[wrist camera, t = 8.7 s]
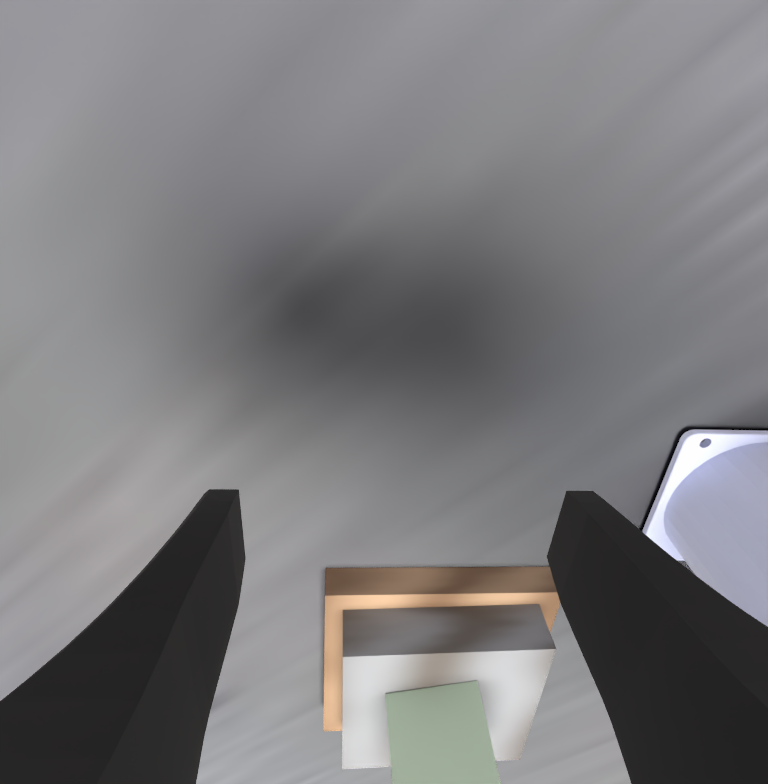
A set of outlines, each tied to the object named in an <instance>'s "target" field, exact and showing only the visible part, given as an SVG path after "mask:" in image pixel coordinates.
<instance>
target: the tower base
mask: <svg viewBox="0 0 768 784" xmlns="http://www.w3.org/2000/svg"><path fill="white" fill-rule="evenodd" d="M520 604H539V605H540V608H541V610H542V613H543V616H544V618H545V621H546V624H547V626H548V629H549V631H551V629H552V626H553V623H554V620H555V617H556V614H557V611H558V608H559V605H560V600H559V597H558V593H557V590H556V587H555V584H554V580H553V577H552V573H551V569H550V567H412V568H326V583H325V643H324V727H323V731H342V671H343V610H356V609H389V608H422V607H455V606H488V605H520Z"/></svg>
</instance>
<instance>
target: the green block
mask: <svg viewBox="0 0 768 784" xmlns="http://www.w3.org/2000/svg"><path fill="white" fill-rule="evenodd" d="M385 695H386V709H387V722H388V735H389V749H390V762H391V776H392V784H501V782H500V777H499V773H498V769H497V764H496V760H495V756H494V751H493V747H492V743H491V738H490V734H489V730H488V725H487V721H486V717H485V712H484V708H483V704H482V699H481V695H480V691H479V686H478V682H477V681H471V682H464V683H457V684H450V685H444V686H437V687H430V688H423V689H416V690H409V691H402V692H395V693H388V694H385Z"/></svg>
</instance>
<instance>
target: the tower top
mask: <svg viewBox="0 0 768 784" xmlns="http://www.w3.org/2000/svg"><path fill="white" fill-rule="evenodd" d="M555 651H556V647H555V644H554V642H553V639H552V637H551V634H550V631H549V629H548V626H547V624H546V621H545V618H544V616H543V613H542V610H541V608H540V605H539V604H520V605H488V606H455V607H422V608H389V609H356V610H343V671H342V769H356V768H374V767H391V762H390V749H389V735H388V722H387V709H386V695H385V694H388V693H395V692H402V691H409V690H416V689H423V688H430V687H437V686H444V685H450V684H457V683H464V682H471V681H477V682H478V686H479V691H480V695H481V699H482V704H483V708H484V712H485V717H486V721H487V725H488V730H489V734H490V738H491V743H492V747H493V751H494V756H495V760H496V761H502V760H520V758H521V755H522V752H523V749H524V746H525V743H526V739H527V736H528V733H529V730H530V727H531V724H532V721H533V718H534V715H535V712H536V709H537V706H538V703H539V700H540V697H541V694H542V691H543V688H544V685H545V682H546V679H547V676H548V672H549V669H550V666H551V663H552V660H553V657H554V654H555Z"/></svg>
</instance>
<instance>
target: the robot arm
mask: <svg viewBox="0 0 768 784" xmlns="http://www.w3.org/2000/svg"><path fill="white" fill-rule="evenodd" d="M704 439H705V440H704ZM702 440H704V441H703V442H701V441H702ZM700 442H701V443H700ZM547 558H548V562H549V566H550V569H551V573H552V577H553V580H554V584H555V587H556V590H557V593H558V597H559V600H560V602H561V605H562V607H563V610H564V612H565V614H566V617H567V619H568V621H569V624H570V626H571V628H572V631H573V633H574V635H575V638H576V640H577V642H578V644H579V647H580V649H581V651H582V654H583V656H584V658H585V660H586V663H587V665H588V667H589V670H590V672H591V674H592V676H593V679H594V681H595V683H596V686H597V688H598V690H599V692H600V695H601V697H602V699H603V702H604V704H605V707H606V710H607V712H608V715H609V717H610V720H611V722H612V725H613V728H614V731H615V734H616V737H617V740H618V743H619V746H620V749H621V752H622V755H623V758H624V761H625V764H626V768H627V771H628V774H629V777H630V780H631V783H632V784H768V431H759V430H697V429H694V430H689V431H687V432H685V433H684V434H683V435H682V436H681V438H680V440H679V442H678V445H677V447H676V450H675V452H674V455H673V457H672V460H671V462H670V464H669V467H668V469H667V472H666V474H665V477H664V479H663V482H662V484H661V486H660V489H659V491H658V494H657V496H656V499H655V501H654V504H653V506H652V508H651V511H650V513H649V516H648V518H647V521H646V523H645V526H644V528H643V530H642V531H641V530H639V529H638V528H637V527H636V526H635V525H633V524H632V523H631V522H630V521H629V520H628V519H626V518H625V517H624V516H623V515H622V514H620V513H619V512H618V511H617V510H616V509H615V508H613V507H612V506H611V505H610V504H609V503H607V502H606V501H605V500H604V499H602V498H601V497H600V496H599V495H597V494H596V493H595V492H593V491H566V495H565V498H564V501H563V505H562V508H561V511H560V515H559V518H558V521H557V525H556V528H555V532H554V535H553V538H552V542H551V545H550V548H549V552H548V555H547ZM678 561H686V563H687V564H688V566H689V567H690V568H691V570H692V571H693V572H694V574H695V575H694V574H693V573H692V572H691V571H689V570H688V569H687V568H686V567H684V566H683V565H682V564H681V563H679V562H678ZM244 565H245V550H244V540H243V529H242V519H241V509H240V498H239V490H211V489H209V490H208V491H207V492H206V493H205V494H204V495H203V496H202V498H201V499H200V500H199V502H198V503H197V504H196V506H195V507H194V508H193V510H192V511H191V512H190V514H189V515H188V516H187V517H186V519H185V520H184V521H183V523H182V524H181V525H180V526H179V528H178V529H177V530H176V531H175V533H174V534H173V535H172V536H171V538H170V539H169V540H168V541H167V542H166V543H165V545H164V546H163V547H162V548H161V549H160V550H159V552H158V553H157V554H156V555H155V556H154V558H153V559H152V560H151V561H150V562H149V563H148V565H147V566H146V567H145V568H144V569H143V570H142V571H141V572H140V573H139V574H138V576H137V577H136V578H135V579H134V580H133V581H132V582H131V583H130V584H129V585H128V586H127V587H126V588H125V589H124V590H123V591H122V593H121V594H120V595H119V596H118V597H117V598H116V599H115V600H114V601H113V602H112V603H111V604H110V605H109V606H108V607H107V608H106V609H105V610H104V611H103V612H102V613H101V614H100V615H99V616H98V617H97V618H96V619H95V620H94V621H93V622H92V623H91V624H90V625H89V626H88V627H86V628H85V629H84V630H83V631H82V632H81V633H80V634H79V635H78V636H77V637H76V638H75V639H73V640H72V641H71V642H70V643H69V644H68V645H67V646H66V647H65V648H64V649H62V650H61V651H60V652H59V653H58V654H57V655H55V656H54V657H53V658H52V659H51V660H50V661H48V662H47V663H46V664H45V665H44V666H43V667H41V668H40V669H39V670H38V671H37V672H35V673H34V674H33V675H32V676H31V677H30V678H28V679H27V680H26V681H25V682H24V683H22V684H21V685H20V686H19V687H17V688H16V689H15V690H14V691H12V692H11V693H10V694H9V695H7V696H6V697H5V698H4V699H2V700H1V701H0V784H196V779H197V774H198V768H199V762H200V757H201V751H202V745H203V740H204V735H205V730H206V726H207V722H208V717H209V713H210V709H211V705H212V702H213V698H214V694H215V691H216V687H217V683H218V680H219V676H220V672H221V668H222V665H223V661H224V657H225V654H226V650H227V646H228V642H229V639H230V635H231V631H232V627H233V624H234V620H235V616H236V612H237V608H238V604H239V598H240V592H241V585H242V579H243V572H244Z"/></svg>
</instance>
